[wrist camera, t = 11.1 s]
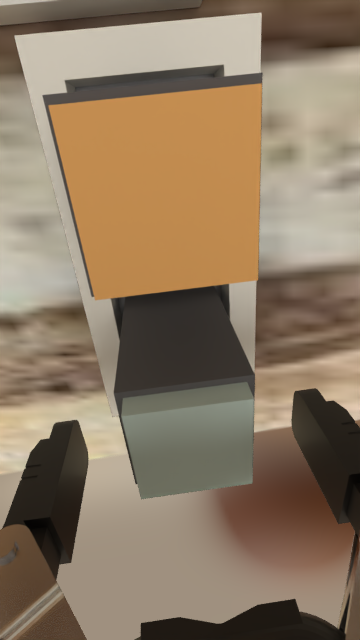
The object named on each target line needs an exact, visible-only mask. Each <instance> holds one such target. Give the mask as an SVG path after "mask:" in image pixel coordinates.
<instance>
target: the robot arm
mask: <svg viewBox="0 0 360 640" xmlns="http://www.w3.org/2000/svg"><path fill="white" fill-rule="evenodd" d="M292 429H293V433H294V436H295V438H296V440H297V443H298V444H299V447H300V449H301V451H302V453H303V455H304V457H305V459H306V460H307V462H308V465H309V466H310V468H311V470H312V472H313V474H314V476H315V478H316V480H317V482H318V484H319V486H320V488H321V490H322V492H323V494H324V496H325V498H326V500H327V502H328V504H329V506H330V508H331V510H332V512H333V514H334V516H335V518H336V520H337V522H338V524H341V523H348V522H350V523H351V525H352V526H353V528H354V530H355V535H354V540H353V546H352V552H351V557H350V563H349V569H348V575H347V580H346V586H345V592H344V597H343V602H342V606H341V611H340V616H339V621H338V626H337V628H336V627H335V626H333V625H332V624H330V623H328V622H327V621H325V620H323V619H321V618H319V617H317V616H314V615H311V614H308V613H304V612H299V609H298V606H297V603H296V600H295V599H292V600H285V601H279V602H273V603H266V604H261V605H257V606H255V607H253V608H251V609H249V610H247V611H245V612H243V613H241V614H240V615H238V616H236V617H234V618H232V619H230V620H228V621H226V622H224V623H222V624H215V623H210V622H204V621H198V620H192V619H186V618H181V617H178V618H171V619H165V620H159V621H153V622H146V623H141V636H140V637H139V638H137V639H135V640H360V428H359V426H358V425H357V424H356V423H355V421H354V419H353V418H352V417H351V415H350V414H349V413H348V411H347V410H346V409H345V408H343V407H342V406H340V405H339V404H338V403H336V402H335V401H327V402H326V401H325V399H324V398H323V396H322V395H321V393H320V392H319V391H318V390H317V389H307V390H300V391H295V393H294V398H293V410H292ZM87 468H88V451H87V447H86V444H85V440H84V437H83V434H82V431H81V428H80V425H79V422H78V421H77V420H72V421H65V422H57V423H55V424H54V426H53V429H52V432H51V435H50V438H49V439H43V440H40V441H39V443H38V444H37V445H36V446H35V448H34V449H33V450H32V451H31V453H30V455H29V458H28V461H27V464H26V469H24V472H23V475H22V477H21V478H22V480H21V481H20V483H19V485H18V488H17V491H16V494H15V496H14V499H13V502H12V505H11V507H10V510H9V513H8V515H7V518H6V521H5V524H4V526H3V528H2V529H1V530H0V640H87V639H86V637H85V635H84V633H83V631H82V629H81V627H80V625H79V623H78V621H77V619H76V617H75V616H74V614H73V612H72V610H71V608H70V606H69V604H68V602H67V600H66V598H65V596H64V594H63V593H62V591H61V589H60V587H59V585H58V583H57V581H56V578H57V574H58V569H59V564H65V563H71V560H72V554H73V549H74V543H75V537H76V532H77V526H78V520H79V514H80V509H81V503H82V497H83V491H84V486H85V480H86V475H87Z"/></svg>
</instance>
